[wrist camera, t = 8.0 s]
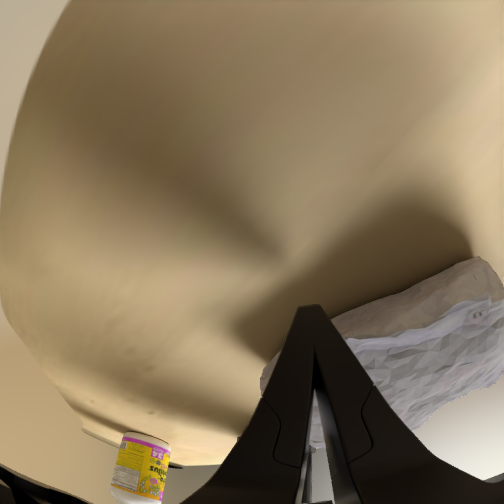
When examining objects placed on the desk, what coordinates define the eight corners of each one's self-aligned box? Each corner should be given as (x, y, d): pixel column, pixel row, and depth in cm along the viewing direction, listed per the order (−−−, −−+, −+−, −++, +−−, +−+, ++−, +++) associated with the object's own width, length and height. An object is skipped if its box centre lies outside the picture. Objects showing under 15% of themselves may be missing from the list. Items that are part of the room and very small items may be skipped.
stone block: (245, 335, 14) (348, 411, 16) (223, 410, 10) (349, 470, 12) (441, 187, 9) (498, 320, 11) (507, 231, 5) (530, 375, 7)
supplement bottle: (177, 449, 30) (165, 526, 20) (136, 440, 31) (120, 512, 21) (162, 437, 26) (145, 527, 16) (116, 425, 27) (96, 508, 17)
